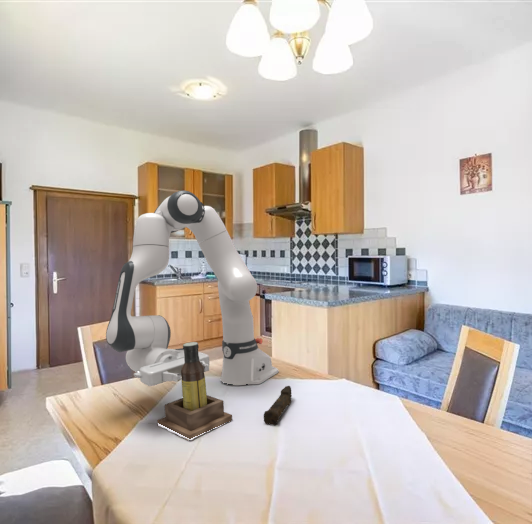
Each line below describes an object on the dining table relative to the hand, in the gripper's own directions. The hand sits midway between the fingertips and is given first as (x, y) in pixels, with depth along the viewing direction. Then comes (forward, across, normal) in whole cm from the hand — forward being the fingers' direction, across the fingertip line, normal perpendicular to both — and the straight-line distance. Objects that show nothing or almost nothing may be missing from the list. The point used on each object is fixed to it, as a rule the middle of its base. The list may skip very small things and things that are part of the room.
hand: (193, 373), depth 99 cm
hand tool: (+13, +19, +14) cm, 27 cm away
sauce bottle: (0, 0, +12) cm, 12 cm away
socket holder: (0, 0, +14) cm, 14 cm away
